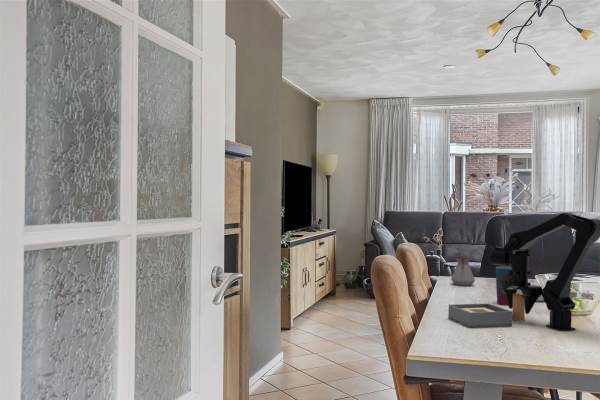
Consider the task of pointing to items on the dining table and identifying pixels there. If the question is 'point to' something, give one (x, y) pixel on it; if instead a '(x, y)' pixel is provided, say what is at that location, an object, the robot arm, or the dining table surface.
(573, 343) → the dining table surface
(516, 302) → the peg
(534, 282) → the paper bowls
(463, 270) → the grey tied sack
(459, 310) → the socket tray
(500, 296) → the cup
